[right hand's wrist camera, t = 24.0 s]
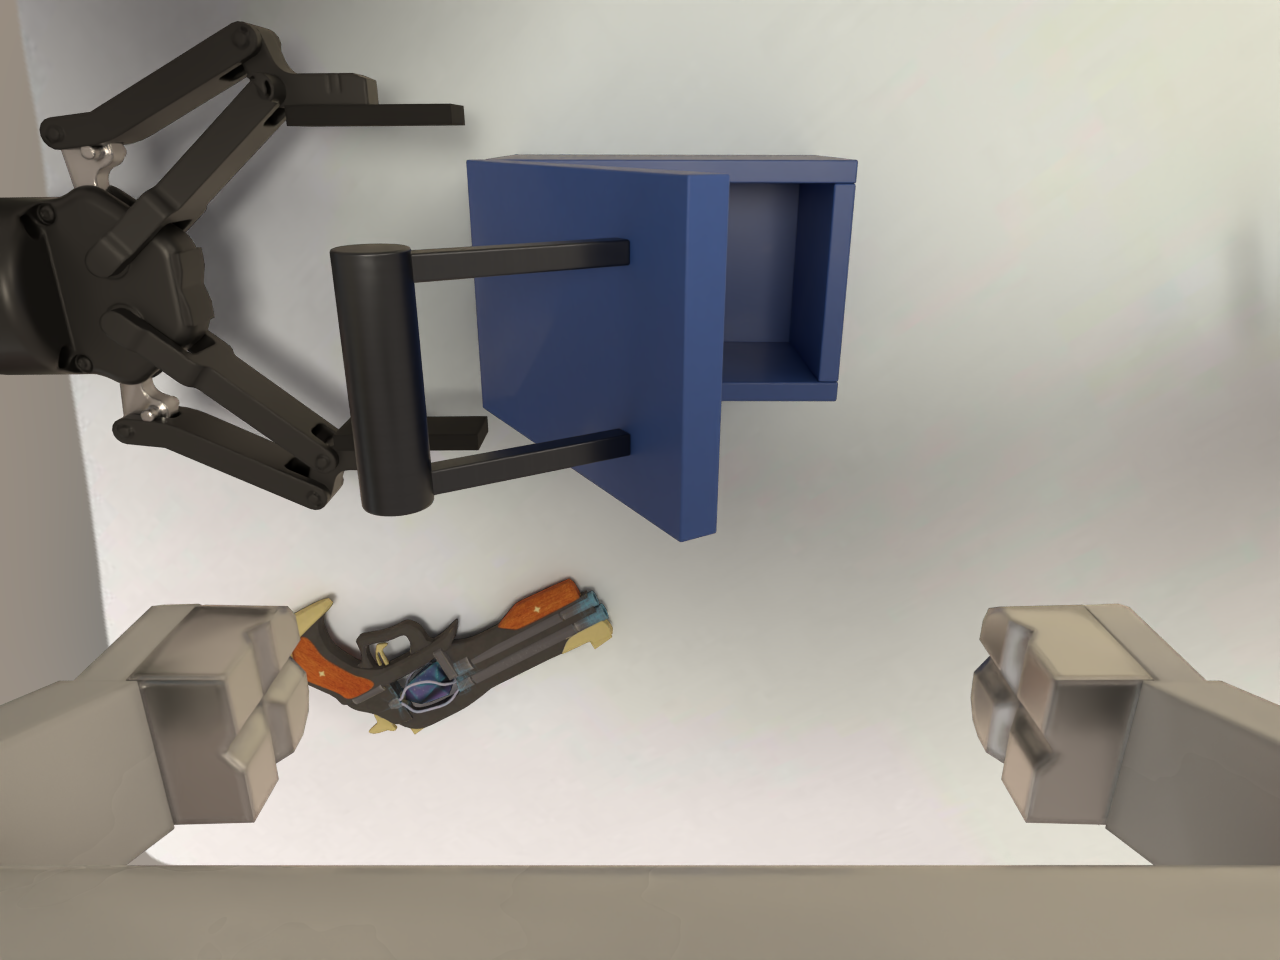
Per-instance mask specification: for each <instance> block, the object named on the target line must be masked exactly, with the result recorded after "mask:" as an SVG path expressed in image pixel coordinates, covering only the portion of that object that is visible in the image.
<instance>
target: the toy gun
mask: <svg viewBox="0 0 1280 960" xmlns="http://www.w3.org/2000/svg"><path fill="white" fill-rule="evenodd" d="M332 604H333V602H332V601H331V600H330V599H329V598H326V599H322V600H320V601H318V602H316V603H313V604H311V605H310V606H308V607H306V608H304V609H302V610H300V611H298V612H297V613H295V615H296V620H297V625H298V629H299V634H300V639H301V640H300V641H299V643H298V644H297V646H296V647H295V649H294V651H293V652H292V654H291V655H290V656H291V657H292V658H293V659H294V660H295V661H296V662H297V663H298V664H299V665H300V666H301V667H302V668H303V670H304V671H305V672H306V675H307V681H308V685H309V686H312V687H314V688H316V689H319V690H321V691H323V692H325V693H328V694H330V695H332V696H333V697H335V698H336V699H337V700H338V701H339V702H340V703H341V704H343V705H348V706H349V707H351V708H353V709H355V710H358V711H362V712H368V713H372V714H374V715H375V718H376V720H377V723H376V724H375V725H374V726H373V727H372V728H371V729H370V730H369V732H370V733H373V734H375V733H380V732H383V731H386V730H390V731H395V730H396V729H397V726H396V725H395V724H400V725H402V726H405V727H408V728H411V730H412V731H413V733H414V734H416V733H418V732H419V731H420V730H422V729H423V728H425V727H428V726H430V725H432V724H434V723H436V722H438V721H440V720H442V719H444V718H446V717H448V716H450V715H452V714H454V713H456V712H458V711H460V710H462V709H464V708H465V707H467V706H469V705H470V704H471V703H473V702H474V701H476V700H477V699H478V698H480V697H481V696H482V695H483V694H485V693H486V692H487V691H488V690H490V689H491V688H493V687H495V686H496V685H498V684H500V683H502V682H504V681H506V680H508V679H510V678H512V677H514V676H516V675H518V674H520V673H522V672H524V671H526V670H529V669H531V668H533V667H535V666H537V665H539V664H541V663H543V662H545V661H547V660H549V659H551V658H553V657H555V656H558V655H560V654H563V653H566V652H568V651H570V650H572V649H574V648H577V647H579V646H581V645H583V644H585V643H587V642H589V641H590V642H591V644H592V645H593V647H594V649H596V648H597V647H599V646H600V645H602V644H603V643H604V642H606V641H607V640H609V639H610V638H611V637H612V635H611V634H612V633H613V628H612V626H611V624H610V622H609V621H608V620H607V619H608V618H609V617H608V613H607V610H606V609H605V607H604V605H603V604H599V601H598V598H597V596H596V594H595V593H594V592H593V591H590V592H587V591H584V592H582V593H580V591H579V590H578V588H577V586H576V585H575V583H574V582H573V581H572V580H571V579H567V580H564V581H562V582H560V583H558V584H555V585H553V586H551V587H549V588H546V589H544V590H542V591H540V592H538V593H536V594H534V595H532V596H530V597H527V598H525V599H523V600H521V601H519V602H517V603H516V604H515V605H514V606H513V607H512V608H511V609H510V611H509V612H508V613H507V614H506V615H505V617H504V618H503V619H502V620H501V622H500V623H499V624H497V625H495V626H493V627H491V628H489V629H487V630H485V631H483V632H481V633H479V634H477V635H475V636H472V637H469V638H465V639H459V640H453V639H454V638H455V636H456V633H457V627H458V619H456V620H455V621H454V622H453V623H452V624H451V625H450V626H449V627H448V628H447V629H446V630H445V631H444V632H442V633H441V634H439V635H438V636H437V637H435V638H432V637H430V636H428V635H427V633H426V631H425V629H424V628H423V627H422V626H421V625H420V624H419V623H417V622H415V621H413V620H405V621H402V622H401V623H399V624H397V625H394V626H392V627H389V628H386V629H383V630H378V631H372V632H366V633H362V634H360V636H359V637H358V638H357V640H356V642H357V645H358V647H359V649H360V652H361V655H362V660H358V659H356V658H354V657H353V656H351V655H349V654H348V653H346V652H345V651H343V650H342V649H341V648H339V647H338V646H337V645H335V644H334V642H333V641H332V640H331V638H330V636H329V634H328V632H327V630H326V627H325V625H324V615H325V613H326V612H327V611H328V610H329V608H330V607H331V606H332ZM402 635H405V636H407V638H408V639H409V641H410V644H411V648H410V651H409V652H407V653H405V654H403V655H401V656H399V657H397V658H395V659H393V660H391V661H388V659H387V658H386V656H385V654H384V652H383V648H385V647H386V646H387V645H388V643H380V642H384V641H389V640H392V639H395V638H397V637H399V636H402ZM375 643H378V644H377V646H376V660H377V663H376V662H375V660H374V659H373V657H372V655H371V653H370V648H369V645H371V644H375ZM378 652H379V653H380V655H381V657H382V659H383V661H384V663H381V661H380V658H379V655H378ZM434 658H436V660H437V661H436V662H433V663H431V662H430V661H431V660H433V659H434ZM424 665H427V666H425V667H424V668H423V669H422V670H421V671H420V672H419V673H418V674H417V675H416V676H415V677H414V678H413V679H412V680H411V681H410V682H409V679H410V677H411V676H412V675H413V674H414V672H415V671H416V670H417V669H419V668H420V667H422V666H424ZM409 673H410V675H409V676H408V678H407V680H406V683H405V688H402V687H401V686H400V684H399V683H398V681H397V680H398V679H400V678H402V677H404V676H406V675H407V674H409ZM408 682H409V683H408ZM455 683H457V686H458V689H457V690H456V692H455V693H454V694H453V695H451V696H449V697H447V698H445V699H443V700H441V701H439V702H437V703H435V704H432V705H429V706H425V707H414V705H413V704H412V702H416V703H419V704H423V703H427V702H431V701H434V700H437V699H439V698H442V697H444V696H447V695H449V693H450V691H451V688H452V686H453V684H455ZM411 701H412V702H411Z"/></svg>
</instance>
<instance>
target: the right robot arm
mask: <svg viewBox="0 0 1280 960" xmlns="http://www.w3.org/2000/svg"><path fill="white" fill-rule="evenodd" d="M300 640H301V639H300V634H299V629H298V625H297V620H296V615H295V614H294V613H293V612H292V611H291V609H290V608H289V607H288V606H249V605H200V604H171V605H157V606H152V607H150V608H149V609H148V610H147V611H146V612H145V613H144V614H143V615H142V616H141V617H140V618H139V619H138V620H137V621H136V622H135V623H134V624H133V625H132V626H130V627H129V628H128V629H127V630H126V631H125V632H124V633H123V634H122V635H121V636H120V637H119V638H118V639H117V640H116V641H115V642H114V643H113V644H112V645H111V646H109V647H108V648H107V649H106V650H105V651H104V652H103V653H102V654H101V655H100V656H99V657H98V658H97V659H96V660H95V661H94V662H93V663H92V664H91V665H89V666H88V667H87V668H86V669H85V670H84V671H83V672H82V673H81V674H80V675H79V676H78V677H77V678H76V679H75V680H74V681H58V682H55V683H53V684H50V685H48V686H46V687H43V688H41V689H38V690H36V691H34V692H31V693H29V694H27V695H24V696H22V697H20V698H17V699H15V700H12V701H10V702H8V703H5V704H3V705H0V960H1280V706H1279V705H1277V704H1275V703H1272V702H1270V701H1268V700H1265V699H1263V698H1260V697H1258V696H1256V695H1253V694H1251V693H1249V692H1246V691H1244V690H1241V689H1239V688H1237V687H1234V686H1232V685H1230V684H1227V683H1225V682H1223V681H1206V680H1205V679H1204V678H1203V677H1202V676H1201V675H1200V674H1199V673H1198V672H1197V671H1196V670H1195V669H1194V668H1193V667H1192V666H1191V665H1190V664H1189V663H1187V662H1186V661H1185V660H1184V659H1183V658H1182V657H1181V656H1180V655H1179V654H1178V653H1177V652H1176V651H1175V650H1174V649H1173V648H1172V647H1171V646H1170V645H1169V644H1168V643H1167V642H1165V641H1164V640H1163V639H1162V638H1161V637H1160V636H1159V635H1158V634H1157V633H1156V632H1155V631H1154V630H1153V629H1152V628H1151V627H1150V626H1149V625H1148V624H1147V623H1146V622H1145V621H1143V620H1142V619H1141V618H1140V617H1139V616H1138V615H1137V614H1136V613H1135V612H1134V611H1133V610H1132V609H1131V608H1130V607H1127V606H1124V605H1121V604H1097V605H1052V606H1010V607H994V608H989V609H988V611H987V613H986V615H985V617H984V619H983V623H982V628H981V634H980V639H979V640H980V641H981V643H982V644H983V646H984V647H985V649H986V651H987V652H988V654H989V655H990V656H989V657H988V658H987V659H986V660H985V661H984V662H983V663H982V664H981V665H980V666H979V667H978V668H977V670H976V671H975V672H974V675H973V683H972V690H971V706H972V718H973V723H974V726H975V729H976V732H977V736H978V738H979V740H980V742H981V744H982V746H983V747H984V749H985V751H986V752H987V753H988V754H990V755H991V756H993V757H995V758H996V759H998V760H999V761H1001V762H1002V763H1004V767H1003V772H1002V778H1001V780H1002V782H1003V783H1004V785H1005V787H1006V789H1007V790H1008V792H1009V794H1010V796H1011V797H1012V799H1013V801H1014V803H1015V804H1016V806H1017V808H1018V810H1019V811H1020V813H1021V815H1022V817H1023V818H1024V820H1025V822H1026V823H1061V824H1098V825H1106V827H1105V828H1106V829H1107V830H1108V831H1110V832H1111V833H1112V834H1114V835H1115V836H1116V837H1118V838H1119V839H1120V840H1122V841H1123V842H1124V843H1125V844H1127V845H1128V846H1129V847H1131V848H1132V849H1133V850H1135V851H1136V852H1137V853H1139V854H1140V855H1141V856H1143V857H1144V858H1145V859H1146V860H1148V861H1149V862H1150V863H1152V864H1153V865H127V864H129V863H130V862H131V861H132V860H134V859H135V858H136V857H138V856H139V855H140V854H142V853H143V852H144V851H146V850H147V849H148V848H150V847H151V846H152V845H154V844H155V843H156V842H157V841H159V840H160V839H161V838H163V837H164V836H165V835H167V834H168V833H169V832H171V831H172V830H173V829H174V825H181V824H217V823H253V822H255V820H256V818H257V817H258V815H259V813H260V811H261V810H262V808H263V806H264V804H265V803H266V801H267V799H268V797H269V796H270V794H271V792H272V790H273V789H274V787H275V785H276V783H277V782H278V780H279V778H278V772H277V767H276V763H278V762H279V761H281V760H282V759H284V758H285V757H287V756H289V755H290V754H292V753H293V752H294V751H295V749H296V747H297V745H298V744H299V742H300V740H301V738H302V736H303V733H304V729H305V725H306V720H307V716H308V712H309V688H308V681H307V675H306V672H305V671H304V670H303V668H302V667H301V666H300V665H299V664H298V663H297V662H296V661H295V660H294V659H293V658H292V657H291V656H290V655H291V654H292V652H293V651H294V649H295V647H296V646H297V644H298V643H299V641H300Z"/></svg>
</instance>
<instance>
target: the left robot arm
mask: <svg viewBox="0 0 1280 960" xmlns="http://www.w3.org/2000/svg"><path fill="white" fill-rule="evenodd" d="M246 77H247V78H249V79H250V82H249V83H248V84H247V85H246V87H245V88H244V89H243V90H242V91H241V92H240V93H239V94H238V95H237V96H236V98H235V99H234V100H233V101H232V102H231V103H230V104H229V105H228V106H227V108H226V109H225V110H224V111H223V112H222V113H221V114H220V115H219V116H218V117H217V119H216V120H215V121H214V122H213V123H212V124H211V125H210V126H209V127H208V129H207V130H206V131H205V132H204V133H203V134H202V135H201V136H200V137H199V138H198V140H197V141H196V142H195V143H194V144H193V145H192V146H191V147H190V148H189V150H188V151H187V152H186V153H185V154H184V155H183V156H182V157H181V158H180V159H179V161H178V162H177V163H176V164H175V165H174V166H173V167H172V168H171V169H170V171H169V172H168V173H167V174H166V175H165V176H164V177H163V178H162V179H161V180H160V182H159V183H158V184H157V185H156V186H154V187H153V188H151V189H149V190H147V191H146V192H145V193H143V194H142V195H141V196H140V197H139V198H138V199H137V200H136V199H134V198H133V197H131V196H129V195H128V194H126V193H125V192H123V191H122V190H120V189H118V188H116V187H114V186H111V185H110V184H109V179H108V178H109V173H110V171H111V170H112V169H113V168H114V167H116V166H118V165H120V164H121V163H122V162H123V160H124V157H125V156H126V154H127V152H126V149H125V147H124V146H123V145H127V144H132V143H135V142H138V141H141V140H143V139H145V138H147V137H149V136H151V135H153V134H154V133H156V132H158V131H159V130H161V129H163V128H164V127H166V126H168V125H169V124H171V123H172V122H174V121H176V120H177V119H179V118H181V117H182V116H184V115H185V114H187V113H189V112H190V111H192V110H194V109H195V108H197V107H199V106H200V105H202V104H203V103H205V102H207V101H208V100H210V99H212V98H213V97H215V96H216V95H218V94H220V93H221V92H223V91H225V90H226V89H228V88H229V87H231V86H233V85H234V84H236V83H238V82H239V81H241V80H243V79H244V78H246ZM285 120H286V122H287V126H307V127H326V126H442V125H465V120H464V107H463V106H461V105H455V104H379V103H378V94H377V85H376V80H373V79H371V78H368V77H366V76H363V75H359V74H354V73H306V74H297V73H295V72H294V71H293V70H292V69H291V68H290V67H289V66H288V64H287V63H286V61H285V59H284V57H283V54H282V52H281V42H280V40H279V37H278V36H277V35H276V34H275V33H274V32H273V31H271V30H269V29H266V28H263V27H259V26H256V25H252V24H249V23H245V22H240V21H237V22H234V23H231V24H230V25H228V26H226V27H225V28H223V29H222V30H220V31H218V32H217V33H215V34H214V35H212V36H210V37H209V38H207V39H206V40H204V41H202V42H201V43H199V44H198V45H196V46H194V47H193V48H191V49H190V50H188V51H187V52H185V53H183V54H182V55H180V56H179V57H177V58H175V59H174V60H172V61H171V62H169V63H167V64H166V65H164V66H163V67H161V68H159V69H158V70H156V71H155V72H153V73H152V74H150V75H148V76H147V77H145V78H144V79H142V80H140V81H139V82H137V83H136V84H134V85H132V86H131V87H129V88H128V89H126V90H124V91H123V92H121V93H120V94H118V95H116V96H115V97H113V98H112V99H110V100H109V101H107V102H105V103H104V104H102V105H101V106H99V107H97V108H96V109H94V110H93V111H91V112H86V113H79V114H72V115H64V116H57V117H50V118H47V119H44V121H43V122H42V123H41V125H40V135H41V137H42V139H43V141H44V142H45V143H46V144H47V145H48V146H49V147H51V148H53V149H56V150H61V151H62V154H63V157H64V160H65V162H66V165H67V168H68V171H69V174H70V177H71V180H72V183H73V186H74V188H75V189H73V190H71V191H70V192H69V193H67V194H66V195H64V196H62V197H22V198H0V374H4V375H42V374H98V375H102V376H105V377H108V378H110V379H112V380H114V381H117V382H119V383H120V388H121V397H122V405H123V414H124V417H123V418H121V419H119V420H117V421H115V423H114V424H113V428H112V431H113V434H114V436H115V437H116V438H117V440H119V441H120V442H122V443H125V444H132V445H142V446H152V447H162V448H167V449H169V450H171V451H174V452H176V453H178V454H181V455H183V456H186V457H188V458H190V459H193V460H195V461H198V462H200V463H202V464H205V465H207V466H209V467H212V468H214V469H217V470H219V471H221V472H224V473H226V474H229V475H231V476H233V477H236V478H238V479H240V480H243V481H245V482H248V483H250V484H252V485H255V486H257V487H259V488H262V489H264V490H267V491H269V492H271V493H274V494H276V495H279V496H281V497H283V498H286V499H288V500H290V501H293V502H295V503H298V504H300V505H302V506H305V507H307V508H310V509H313V510H319V509H322V508H323V507H325V505H326V504H327V503H328V502H329V501H330V499H331V498H332V497H333V496H334V495H335V494H336V492H337V491H338V490H339V489H340V488H341V486H342V485H343V481H344V479H343V473H344V471H345V470H357V463H356V455H355V447H354V439H353V431H352V423H351V418H350V419H349V420H348V421H347V422H346V423H345V424H344V425H343V426H342V427H341V428H340V429H337V428H336V427H334V426H333V425H332V424H330V423H329V422H327V421H326V420H325V419H323V418H322V417H320V416H319V415H318V414H316V413H315V412H313V411H312V410H311V409H309V408H308V407H307V406H305V405H304V404H302V403H301V402H300V401H298V400H297V399H295V398H294V397H293V396H291V395H290V394H288V393H287V392H286V391H284V390H283V389H281V388H280V387H279V386H277V385H276V384H274V383H273V382H272V381H270V380H269V379H267V378H266V377H265V376H263V375H262V374H260V373H259V372H258V371H256V370H255V369H253V368H252V367H251V366H249V365H248V364H246V363H245V362H244V361H242V360H241V359H239V358H238V357H237V356H236V355H235V354H234V352H233V349H232V348H231V347H230V346H229V345H228V344H227V343H225V342H224V341H223V340H221V339H220V338H218V337H217V336H216V335H214V334H213V333H211V332H210V331H209V330H207V329H208V327H209V323H210V319H212V318H215V317H214V311H213V306H212V301H211V299H210V296H209V294H208V292H207V290H206V288H205V285H204V268H205V264H204V259H203V253H202V248H201V247H196V246H195V244H194V243H193V241H192V239H191V238H190V237H189V236H188V235H187V234H186V233H185V232H186V231H187V230H188V229H189V228H190V227H191V226H192V225H193V224H194V223H195V222H196V221H197V220H198V219H199V217H200V216H201V215H202V214H203V213H204V212H205V211H206V209H207V204H208V203H209V202H210V201H211V200H212V199H213V198H214V197H215V196H216V194H217V193H218V192H219V191H220V190H221V189H222V188H223V187H224V186H225V185H226V184H227V183H228V182H229V181H230V179H231V178H232V177H233V176H234V175H235V174H236V173H237V172H238V171H239V170H240V169H241V168H242V167H243V166H244V164H245V163H246V162H247V161H248V160H249V159H250V158H251V157H252V156H253V155H254V154H255V153H256V152H257V151H258V149H259V148H260V147H261V146H262V145H263V144H264V143H265V142H266V141H267V140H268V139H269V138H270V137H271V135H272V134H273V133H274V132H275V131H276V130H277V129H278V128H279V127H280V126H281V125H282V124H283V123H284V122H285ZM187 350H188V351H189V352H188V351H187ZM190 352H191V353H190ZM162 371H163V372H164V373H166V374H167V375H169V376H170V377H172V378H173V379H174V380H176V381H177V382H179V383H180V384H182V385H184V386H187V387H194V388H197V389H199V390H200V391H202V392H203V393H204V394H206V395H207V396H209V397H210V398H212V399H213V400H215V401H216V402H217V403H219V404H220V405H222V406H223V407H225V408H226V409H227V410H229V411H230V412H232V413H233V414H235V415H236V416H237V417H239V418H240V419H242V420H243V421H245V422H246V423H248V424H249V425H250V426H252V427H253V428H255V429H256V430H258V431H259V432H260V433H262V434H263V435H265V436H266V437H268V438H269V439H270V440H272V441H273V442H272V441H270V440H267V439H265V438H263V437H260V436H258V435H256V434H253V433H251V432H249V431H246V430H244V429H242V428H239V427H237V426H235V425H232V424H230V423H228V422H225V421H223V420H221V419H218V418H216V417H214V416H211V415H209V414H207V413H204V412H201V411H199V410H195V409H191V408H188V407H181V406H179V400H178V399H177V397H175V396H170V395H167V394H164V393H162V392H160V391H159V390H158V389H157V388H156V387H155V385H154V384H153V380H152V378H153V377H155V376H157V375H159V374H160V373H161V372H162ZM427 425H428V436H429V447H430V450H479V448H480V446H481V444H482V442H483V441H484V439H485V437H486V435H487V433H488V420H487V416H450V417H427ZM274 442H275V443H274Z"/></svg>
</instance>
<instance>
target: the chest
mask: <svg viewBox="0 0 1280 960" xmlns="http://www.w3.org/2000/svg"><path fill="white" fill-rule="evenodd" d="M486 160H512V161H529V162H545V163H561V164H578V165H594V166H611V167H627V168H643V169H660V170H676V171H693V172H709V173H725V174H729V175H730V185H729V211H728V237H727V264H726V290H725V316H724V342H723V368H722V395H721V401H836V399H837V388H838V383H837V381H838V377H839V366H840V355H841V343H842V332H843V321H844V310H845V299H846V287H847V276H848V265H849V254H850V243H851V231H852V220H853V209H854V198H855V187H856V186H855V184H854V183H856V177H857V166H858V161H857V160H852V159H843V158H835V157H826V156H817V155H510V156H504V157H497V158H491V159H486Z"/></svg>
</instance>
